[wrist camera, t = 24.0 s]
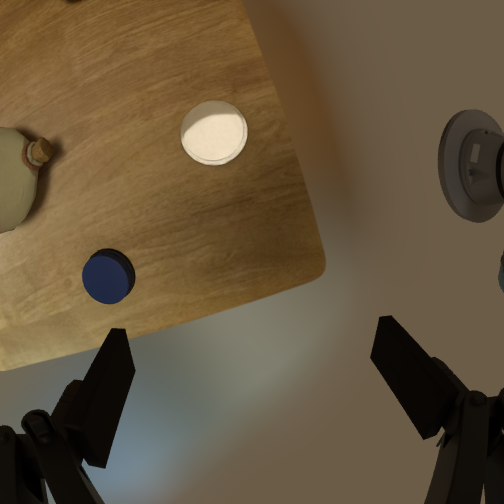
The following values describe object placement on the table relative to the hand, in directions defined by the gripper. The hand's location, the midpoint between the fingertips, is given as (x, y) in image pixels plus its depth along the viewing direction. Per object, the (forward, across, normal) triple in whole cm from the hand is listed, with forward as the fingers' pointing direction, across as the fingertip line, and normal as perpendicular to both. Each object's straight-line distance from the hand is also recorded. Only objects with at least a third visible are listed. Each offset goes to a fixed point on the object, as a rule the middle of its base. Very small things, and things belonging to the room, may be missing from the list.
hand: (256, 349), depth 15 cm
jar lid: (+26, -19, -7) cm, 33 cm away
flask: (+29, -33, +10) cm, 45 cm away
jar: (+29, -2, +12) cm, 31 cm away
